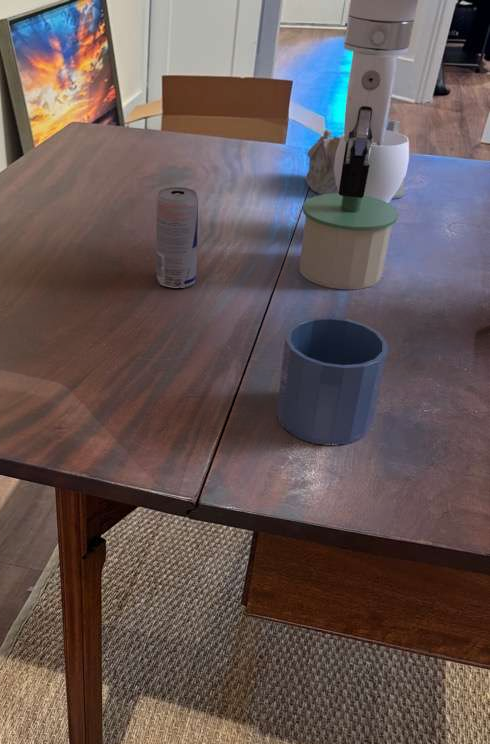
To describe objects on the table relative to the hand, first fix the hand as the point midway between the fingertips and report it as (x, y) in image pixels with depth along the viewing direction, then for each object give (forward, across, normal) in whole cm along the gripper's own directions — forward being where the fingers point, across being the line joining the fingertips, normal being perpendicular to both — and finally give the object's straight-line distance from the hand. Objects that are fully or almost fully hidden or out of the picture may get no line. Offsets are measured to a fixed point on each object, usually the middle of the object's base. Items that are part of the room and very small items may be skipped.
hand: (352, 183), depth 94 cm
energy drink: (+13, -9, +22) cm, 27 cm away
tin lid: (+4, 0, 0) cm, 4 cm away
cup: (+12, +13, -3) cm, 19 cm away
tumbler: (+12, -37, 0) cm, 39 cm away
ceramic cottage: (+13, +37, -1) cm, 39 cm away
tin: (+12, 0, 0) cm, 12 cm away
